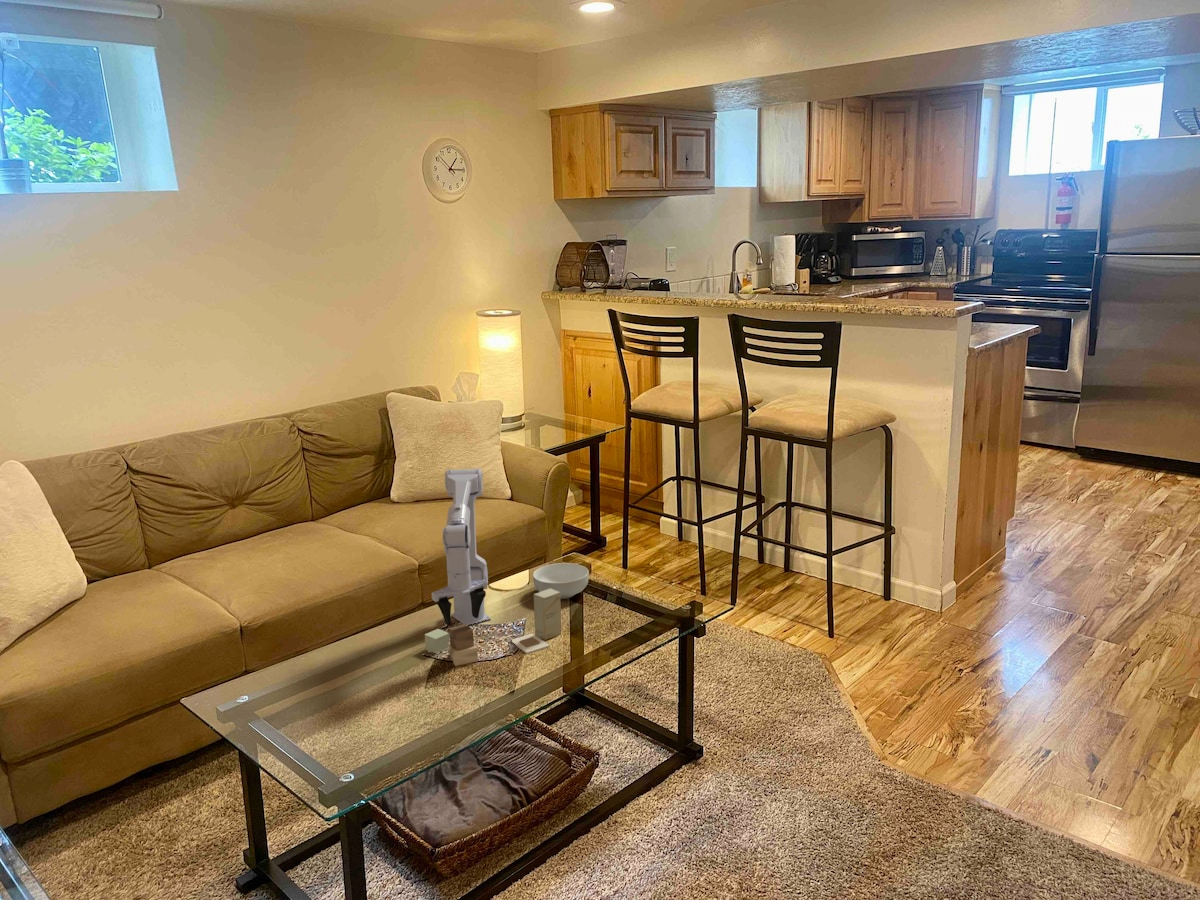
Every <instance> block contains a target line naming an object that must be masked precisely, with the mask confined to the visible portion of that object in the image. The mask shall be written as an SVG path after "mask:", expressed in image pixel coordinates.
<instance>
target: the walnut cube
mask: <svg viewBox="0 0 1200 900" xmlns="http://www.w3.org/2000/svg"><path fill="white" fill-rule="evenodd" d="M448 633H449V639H450V645H451V646H453V647H454V648H455V649H456V650H457V651H459V650H462V649H466V648H469V647H472V646H474V643H475V642H474V641H475V640H474V629H473V628H472V627H470V625H469V626H467V625H466V624H459V625H456V626H453V627H449V629H448Z"/></svg>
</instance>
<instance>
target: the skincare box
mask: <svg viewBox="0 0 1200 900" xmlns="http://www.w3.org/2000/svg"><path fill="white" fill-rule="evenodd" d="M561 604H562V603H561V599H560V592H559V591H556V590H554V589H551V588H549V589H547V590H544V591H541V592H539V591H538V592H536V593H533V611H534V612H533V613H534V618H533V619H534V635H536V636H537V637H539V638H540V639H541V640H543V641H546V640H549V639H551V638H554V637H557V636H560V635H561V634H562V607H561V606H562V605H561Z"/></svg>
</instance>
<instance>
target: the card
mask: <svg viewBox="0 0 1200 900" xmlns="http://www.w3.org/2000/svg"><path fill="white" fill-rule="evenodd" d="M511 640H512V642H513V643H514V644H515V645H516V646H515V645H514V644H513V643H512V644H513V645H514V646H515V647H517V648H518V649H520V650H521V651H522V652H523V653H525V654H526V655H528V654H531V653H534V652H537V651H540V650H543V649H547V648H549V647H551V646H550V644H548V643H547V642H546V641H545V640H544V639H542V638H539V637H537V636H536V635H535V633H530V634H525V635H523V636H519V637H517V638H512V639H511Z"/></svg>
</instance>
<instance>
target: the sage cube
mask: <svg viewBox="0 0 1200 900" xmlns="http://www.w3.org/2000/svg"><path fill="white" fill-rule="evenodd" d="M424 642H425V643H424V645H425V651H427V650H428V651H427V652H429V651H431V652H430V653H432V652H433V653H432V654H434V653H436V654H437V653H438V652H440V651H442V650H443V649H445V648H447V647H449V644H448V643H449V642H450V634H449V632H447V631H445V630H442V629H439V628H436V629H434V630H431V631H429V632H427V633H425V634H424ZM436 654H435V655H436ZM437 655H438V654H437Z"/></svg>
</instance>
